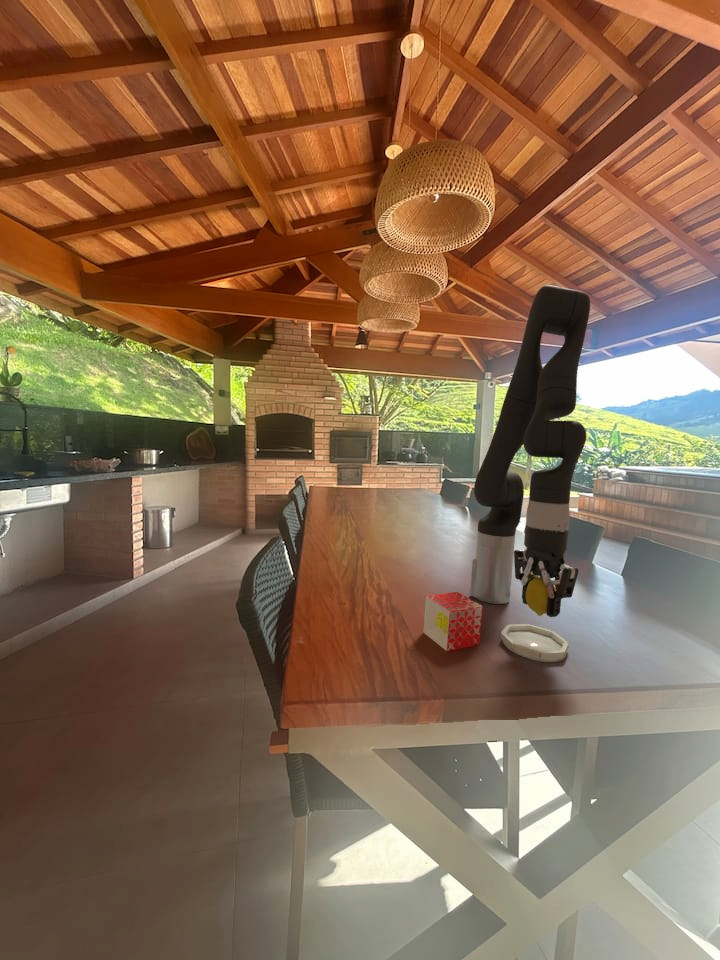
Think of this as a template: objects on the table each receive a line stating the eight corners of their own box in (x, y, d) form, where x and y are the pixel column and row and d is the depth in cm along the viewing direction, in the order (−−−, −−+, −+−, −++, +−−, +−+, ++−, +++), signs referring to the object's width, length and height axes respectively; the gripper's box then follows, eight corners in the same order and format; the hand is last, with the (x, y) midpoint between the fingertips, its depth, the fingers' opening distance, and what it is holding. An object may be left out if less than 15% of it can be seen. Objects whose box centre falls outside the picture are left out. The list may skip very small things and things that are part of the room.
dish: (494, 647, 78) (495, 638, 78) (511, 627, 87) (512, 619, 87) (560, 669, 71) (561, 660, 71) (570, 645, 81) (571, 636, 80)
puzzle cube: (423, 632, 83) (425, 595, 82) (454, 627, 86) (456, 591, 85) (446, 651, 76) (449, 611, 75) (479, 644, 79) (482, 606, 78)
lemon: (553, 624, 75) (556, 582, 74) (522, 617, 78) (525, 576, 77) (556, 614, 80) (559, 575, 79) (526, 607, 82) (529, 569, 82)
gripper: (505, 518, 82) (499, 598, 84) (563, 533, 69) (554, 628, 70) (533, 517, 85) (527, 594, 86) (594, 532, 72) (585, 623, 73)
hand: (539, 609), depth 78 cm, fingers closed on lemon, 5 cm apart
